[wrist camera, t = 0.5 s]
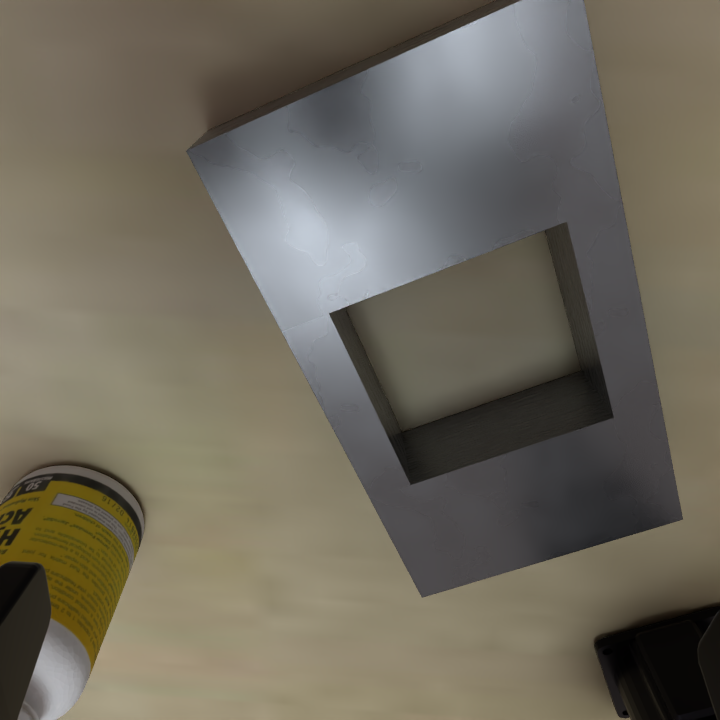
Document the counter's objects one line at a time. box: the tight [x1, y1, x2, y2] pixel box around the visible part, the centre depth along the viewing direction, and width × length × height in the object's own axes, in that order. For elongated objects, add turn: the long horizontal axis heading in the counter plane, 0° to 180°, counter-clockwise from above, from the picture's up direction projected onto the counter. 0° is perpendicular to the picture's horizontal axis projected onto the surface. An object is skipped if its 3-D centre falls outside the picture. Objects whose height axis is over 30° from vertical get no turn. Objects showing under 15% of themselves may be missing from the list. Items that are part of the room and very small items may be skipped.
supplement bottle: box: [0, 465, 144, 720], centre depth 21 cm, size 5×5×10 cm
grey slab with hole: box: [186, 0, 683, 597], centre depth 20 cm, size 18×10×3 cm, turn 22°
